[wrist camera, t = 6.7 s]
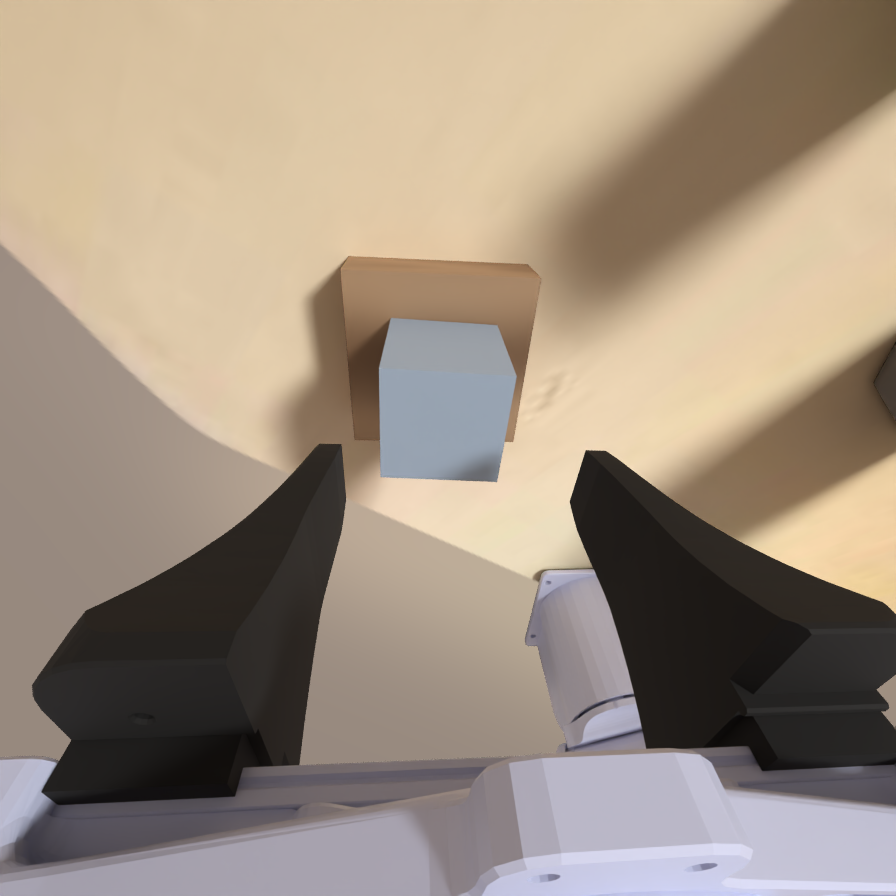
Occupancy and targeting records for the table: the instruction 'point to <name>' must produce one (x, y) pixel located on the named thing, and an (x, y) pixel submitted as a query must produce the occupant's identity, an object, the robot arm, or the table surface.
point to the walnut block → (430, 316)
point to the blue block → (444, 400)
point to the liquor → (888, 382)
